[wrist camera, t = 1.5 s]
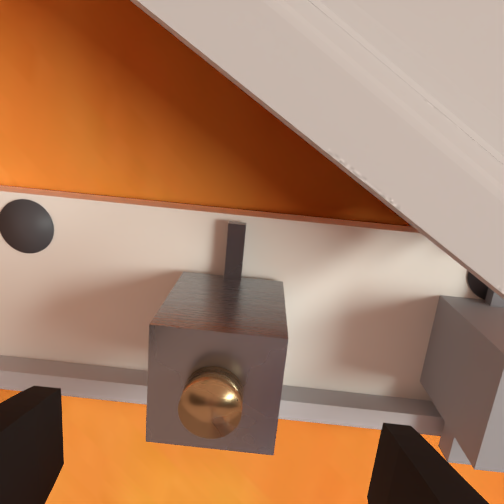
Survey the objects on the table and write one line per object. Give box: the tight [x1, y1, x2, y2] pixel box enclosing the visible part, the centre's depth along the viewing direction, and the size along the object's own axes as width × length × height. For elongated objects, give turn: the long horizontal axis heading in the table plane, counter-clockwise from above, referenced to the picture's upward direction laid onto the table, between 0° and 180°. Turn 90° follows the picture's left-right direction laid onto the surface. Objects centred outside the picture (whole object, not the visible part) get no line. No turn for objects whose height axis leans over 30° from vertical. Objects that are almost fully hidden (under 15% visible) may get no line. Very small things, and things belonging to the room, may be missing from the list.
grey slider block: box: [146, 221, 288, 455], centre depth 13 cm, size 4×7×5 cm, turn 175°
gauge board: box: [0, 185, 504, 472], centre depth 14 cm, size 22×8×6 cm, turn 85°
